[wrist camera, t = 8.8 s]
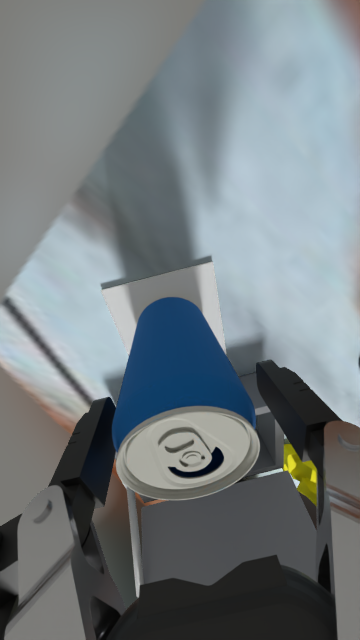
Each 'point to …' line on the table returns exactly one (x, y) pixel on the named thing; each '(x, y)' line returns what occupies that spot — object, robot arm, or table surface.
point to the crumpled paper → (301, 472)
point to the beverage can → (181, 409)
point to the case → (228, 520)
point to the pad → (181, 283)
